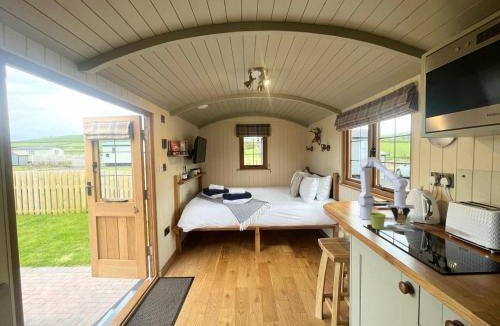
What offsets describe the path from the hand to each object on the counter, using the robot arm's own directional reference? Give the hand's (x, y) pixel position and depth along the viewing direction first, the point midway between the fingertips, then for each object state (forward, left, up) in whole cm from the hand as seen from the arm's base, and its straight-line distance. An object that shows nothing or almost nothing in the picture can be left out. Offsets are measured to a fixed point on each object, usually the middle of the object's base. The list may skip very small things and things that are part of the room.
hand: (400, 220), depth 136 cm
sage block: (-12, +8, -5) cm, 15 cm away
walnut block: (0, 0, -2) cm, 2 cm away
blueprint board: (0, 0, -5) cm, 5 cm away
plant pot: (+1, -13, -6) cm, 14 cm away
